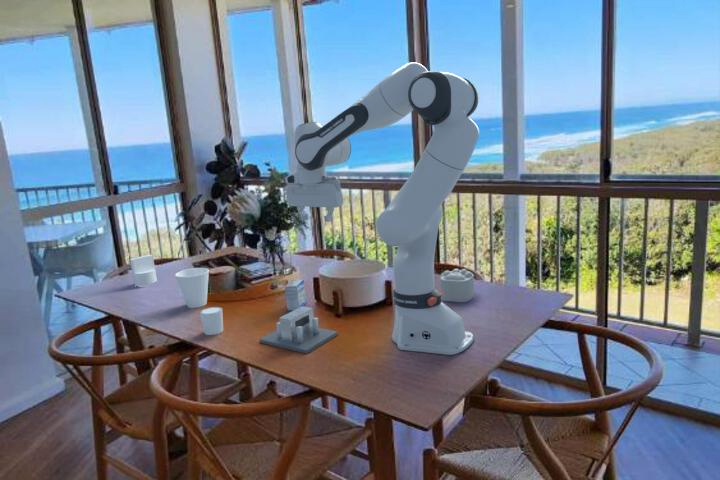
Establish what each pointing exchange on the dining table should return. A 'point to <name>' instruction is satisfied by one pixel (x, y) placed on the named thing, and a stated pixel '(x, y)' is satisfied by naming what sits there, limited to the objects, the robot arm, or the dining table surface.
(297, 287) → the medicine box
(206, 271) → the cup
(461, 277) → the bowl of white balls
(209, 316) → the white short cylinder
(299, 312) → the drive
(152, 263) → the base with upright slab
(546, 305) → the dining table surface
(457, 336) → the robot arm
